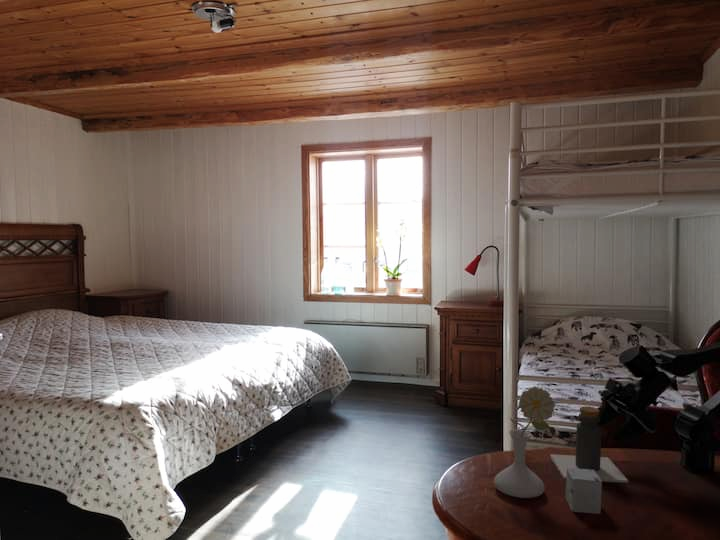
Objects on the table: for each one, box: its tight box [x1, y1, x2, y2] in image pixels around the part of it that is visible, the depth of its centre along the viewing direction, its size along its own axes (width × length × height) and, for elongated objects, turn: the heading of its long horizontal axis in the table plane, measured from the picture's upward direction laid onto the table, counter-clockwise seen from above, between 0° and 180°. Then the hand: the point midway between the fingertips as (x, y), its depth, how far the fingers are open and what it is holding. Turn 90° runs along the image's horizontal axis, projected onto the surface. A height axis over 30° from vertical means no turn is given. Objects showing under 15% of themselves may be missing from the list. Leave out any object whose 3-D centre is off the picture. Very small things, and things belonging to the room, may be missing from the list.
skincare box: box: [565, 468, 603, 515], centre depth 116 cm, size 6×6×7 cm
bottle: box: [575, 406, 602, 471], centre depth 135 cm, size 6×6×15 cm
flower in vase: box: [493, 386, 556, 499], centre depth 122 cm, size 13×11×25 cm
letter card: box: [549, 454, 629, 484], centre depth 136 cm, size 15×14×1 cm
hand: (604, 432), depth 135 cm, fingers open, 9 cm apart
